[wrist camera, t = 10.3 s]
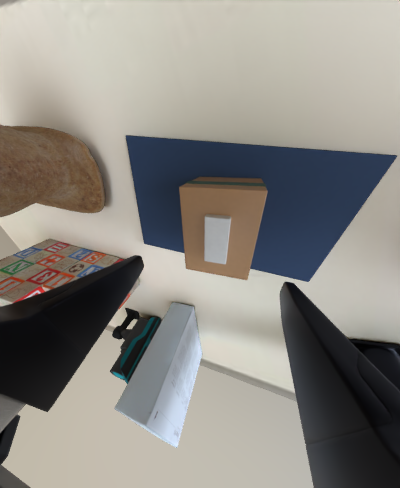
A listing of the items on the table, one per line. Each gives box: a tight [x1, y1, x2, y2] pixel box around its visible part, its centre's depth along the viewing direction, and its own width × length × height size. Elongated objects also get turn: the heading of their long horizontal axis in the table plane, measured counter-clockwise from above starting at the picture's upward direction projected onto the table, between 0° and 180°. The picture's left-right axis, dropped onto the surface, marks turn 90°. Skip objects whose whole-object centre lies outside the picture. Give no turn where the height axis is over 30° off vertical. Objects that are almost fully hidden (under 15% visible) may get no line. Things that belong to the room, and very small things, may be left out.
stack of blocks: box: [0, 239, 139, 311], centre depth 26 cm, size 21×6×12 cm, turn 88°
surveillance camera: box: [110, 308, 161, 384], centre depth 33 cm, size 6×12×10 cm
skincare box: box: [115, 302, 202, 448], centre depth 29 cm, size 21×5×16 cm, turn 7°
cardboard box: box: [179, 177, 268, 280], centre depth 15 cm, size 6×8×6 cm
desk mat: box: [126, 135, 397, 282], centre depth 17 cm, size 24×14×1 cm, turn 87°
